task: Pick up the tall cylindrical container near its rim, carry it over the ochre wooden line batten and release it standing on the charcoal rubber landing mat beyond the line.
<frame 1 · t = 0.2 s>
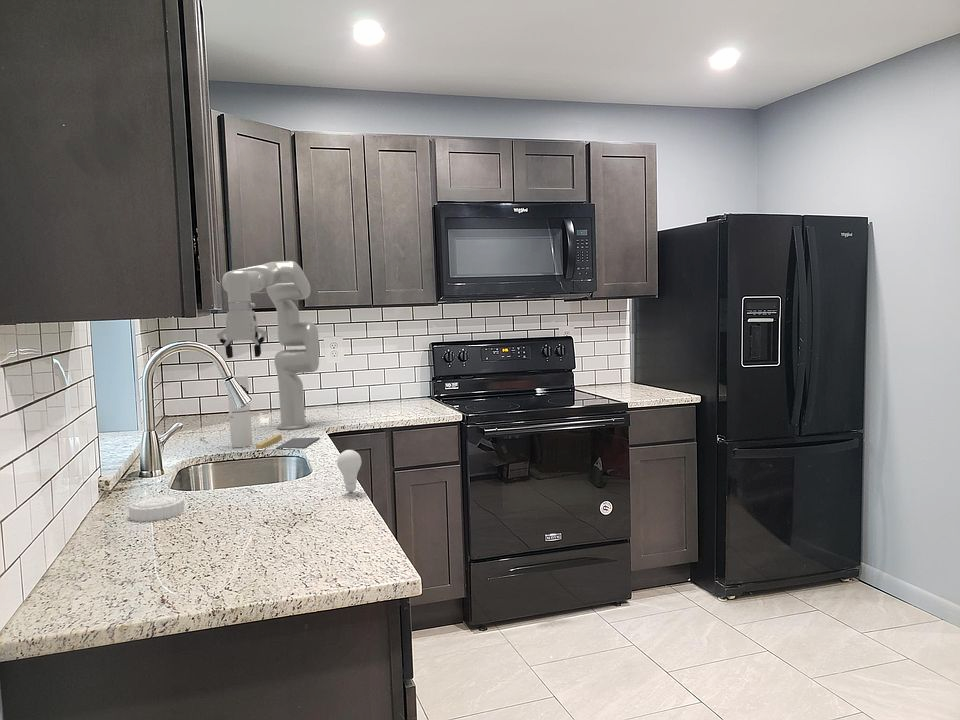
hand: (243, 357, 251), 32 cm above the worktop, fingers open, 9 cm apart
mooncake: (157, 515, 173), on the worktop
lightbulb: (351, 493, 185), on the worktop
landing mat: (298, 444, 257), on the worktop
cylindrical container: (242, 446, 259), on the worktop
line batten: (269, 445, 258), on the worktop
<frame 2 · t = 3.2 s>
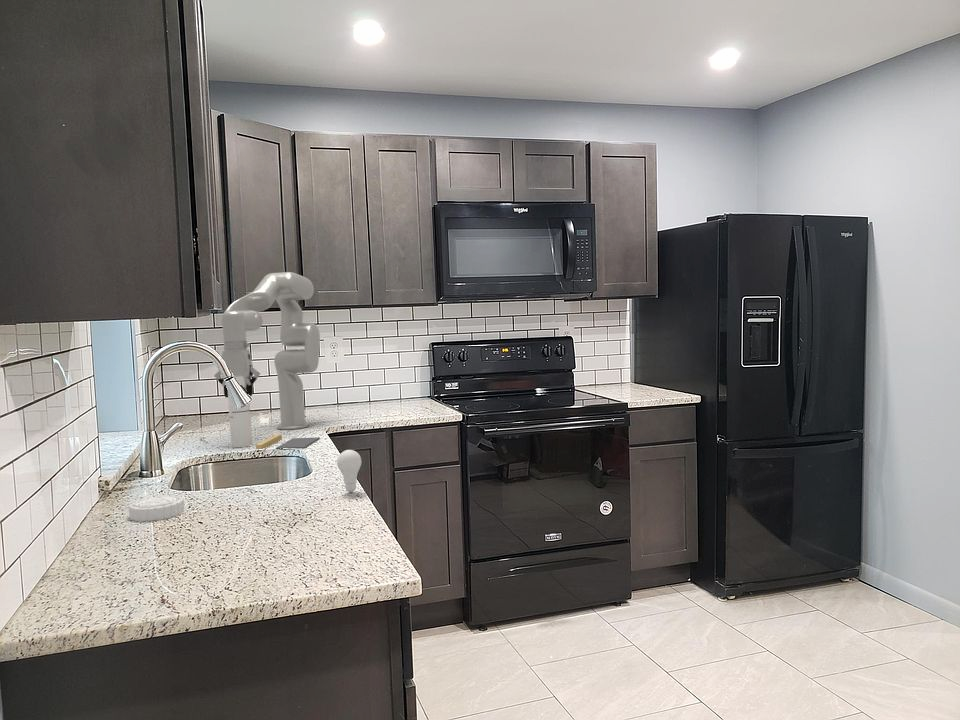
hand: (238, 396, 258), 18 cm above the worktop, fingers closed on cylindrical container, 7 cm apart
cylindrical container: (242, 446, 259), on the worktop, touching gripper
everything else where it was.
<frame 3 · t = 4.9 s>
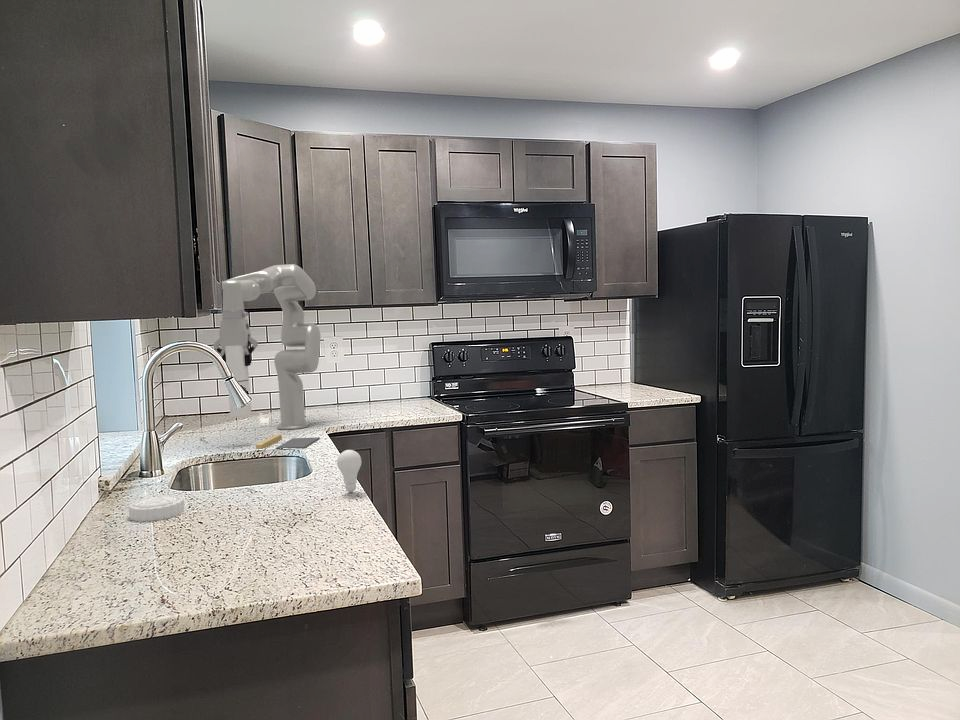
hand: (237, 365, 257), 29 cm above the worktop, fingers closed on cylindrical container, 7 cm apart
cylindrical container: (241, 416, 259), point 11 cm above the worktop, touching gripper
everything else where it was.
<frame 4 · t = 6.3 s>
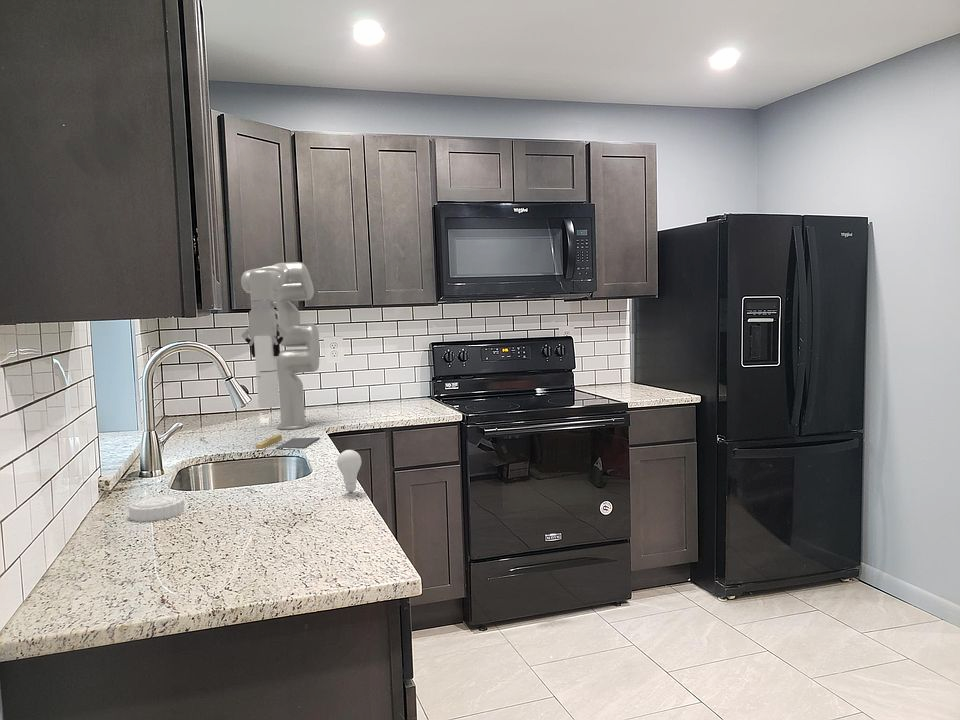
hand: (265, 356, 256), 32 cm above the worktop, fingers closed on cylindrical container, 7 cm apart
cylindrical container: (269, 406, 257), point 14 cm above the worktop, touching gripper
everything else where it was.
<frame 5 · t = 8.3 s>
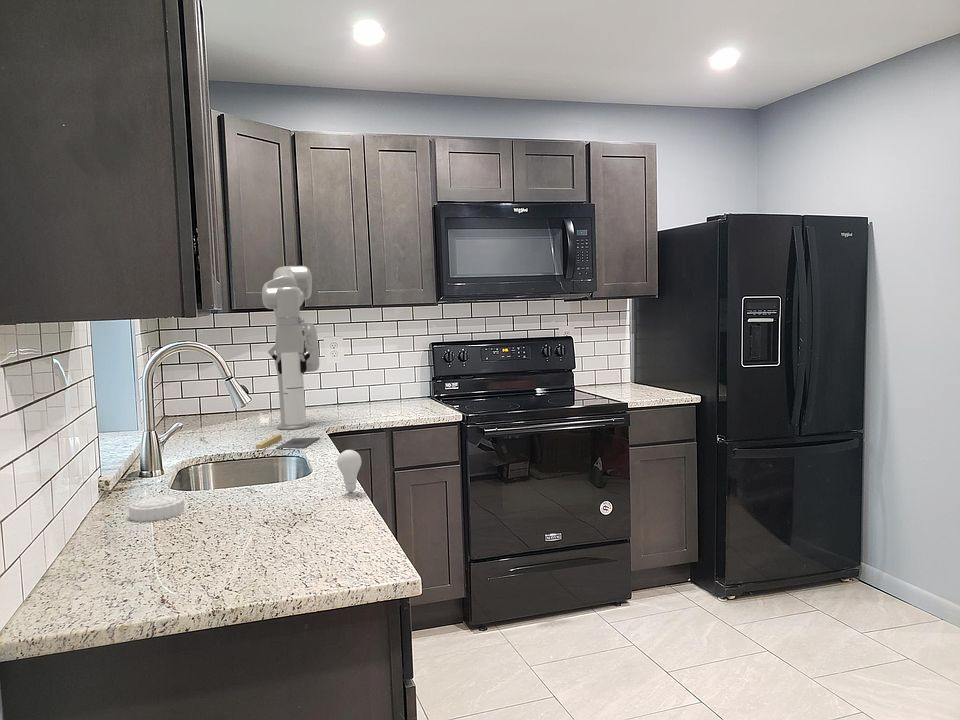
hand: (292, 372, 256), 25 cm above the worktop, fingers closed on cylindrical container, 7 cm apart
cylindrical container: (295, 423, 257), point 7 cm above the worktop, touching gripper
everything else where it was.
when the fingers open (20 cm above the worktop, at t = 9.9 s): cylindrical container drops 1 cm, resting on landing mat.
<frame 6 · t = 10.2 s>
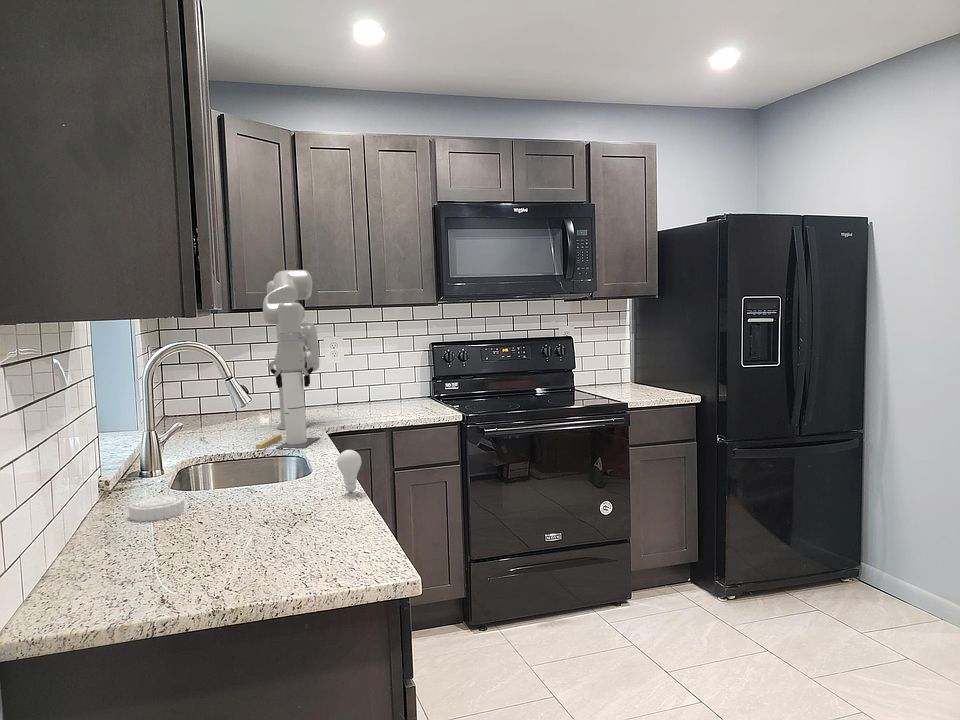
hand: (293, 386, 256), 20 cm above the worktop, fingers open, 9 cm apart
cylindrical container: (296, 442, 258), resting on landing mat
everything else where it was.
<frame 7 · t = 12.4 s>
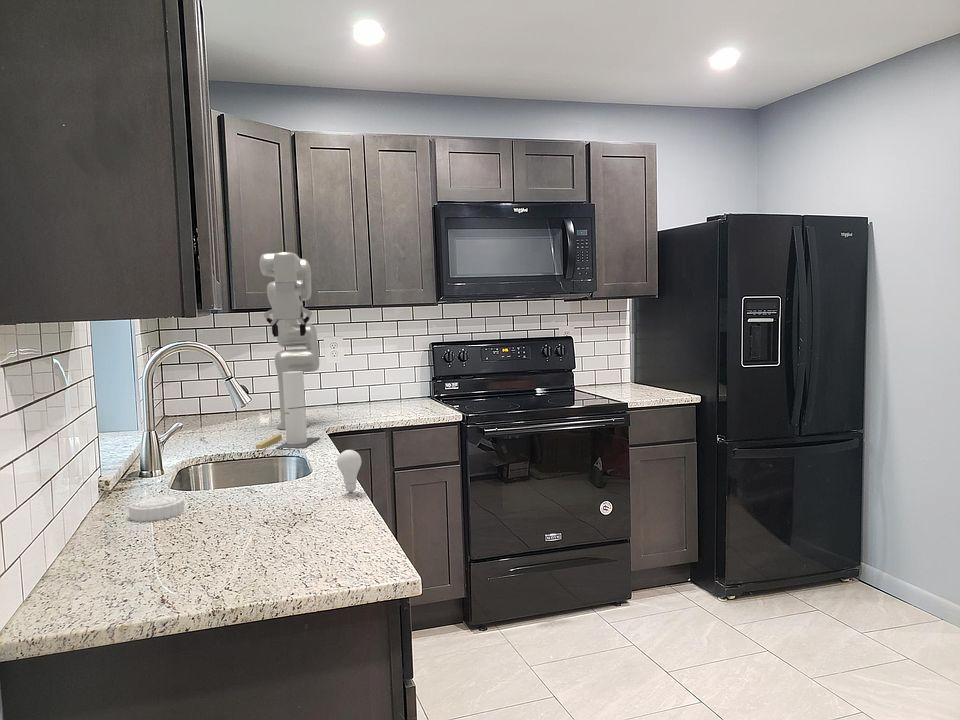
hand: (289, 336, 258), 38 cm above the worktop, fingers open, 9 cm apart
nothing on the worktop moved.
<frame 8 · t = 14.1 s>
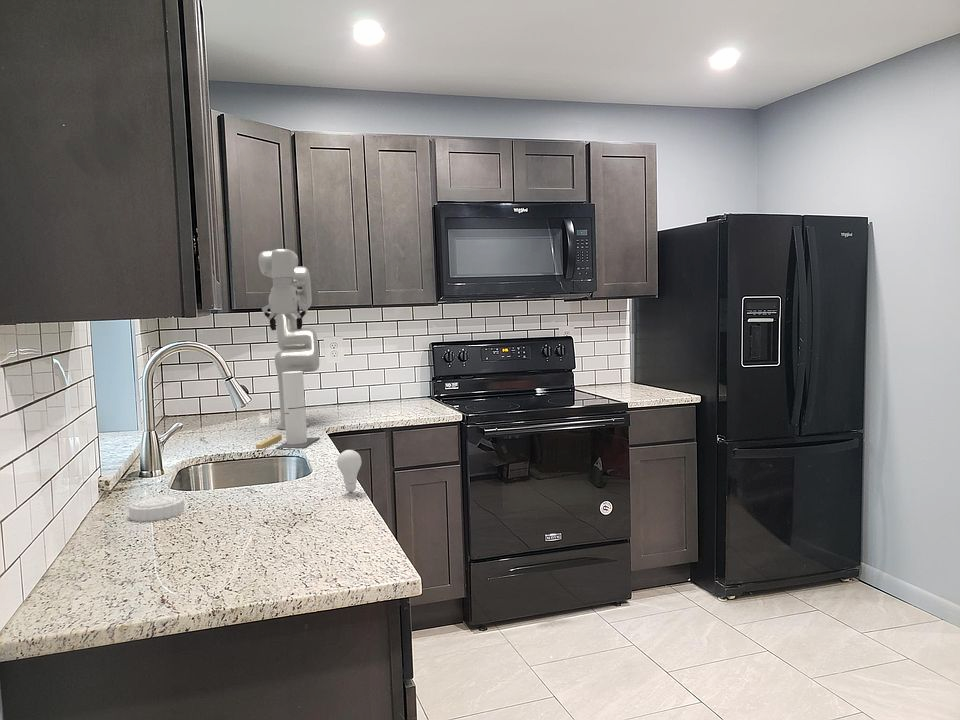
hand: (286, 329, 269), 40 cm above the worktop, fingers open, 9 cm apart
nothing on the worktop moved.
at the end: cylindrical container inside the target area (1.1 cm from its centre), resting on landing mat; cylindrical container tilted 0°; the gripper is holding nothing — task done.
